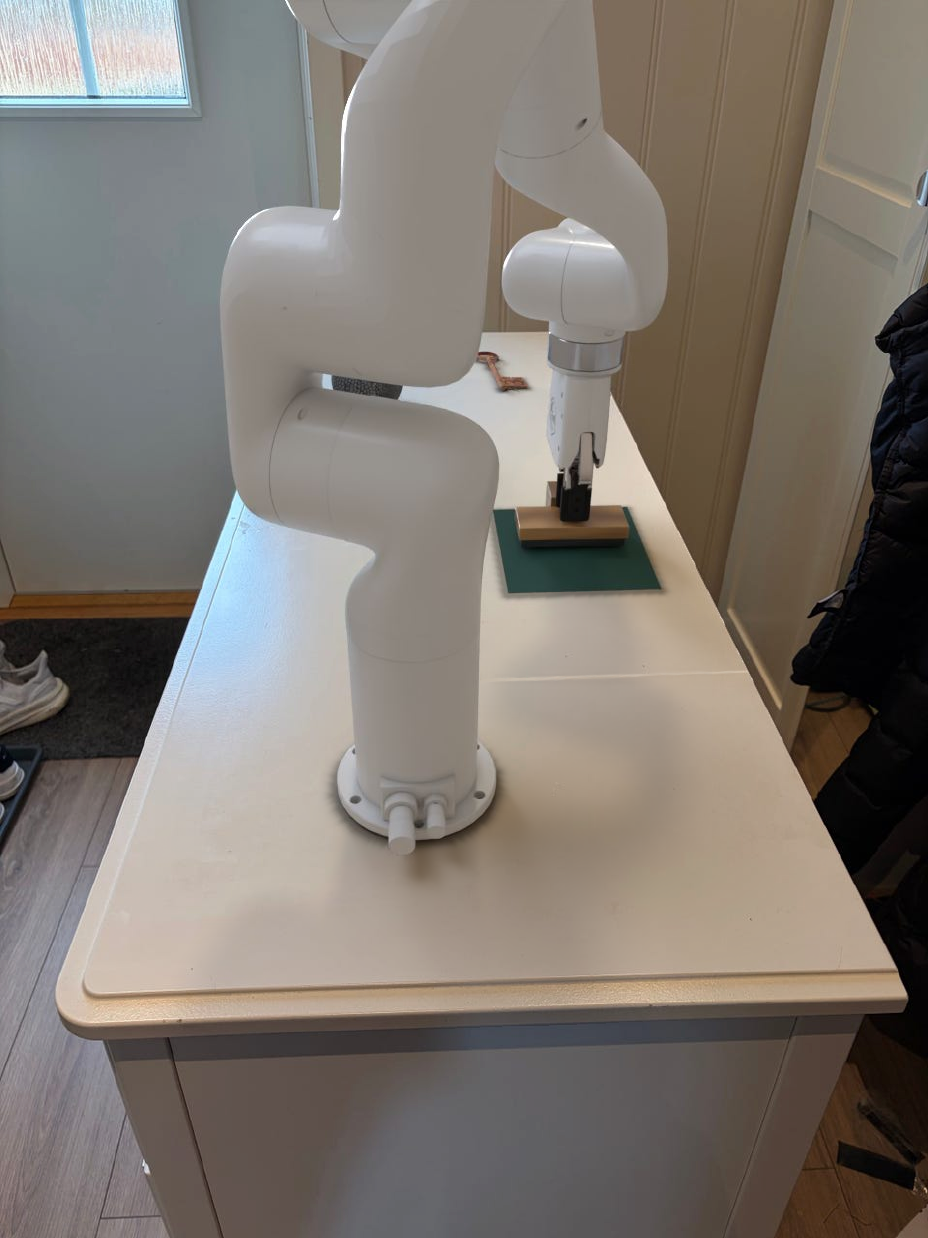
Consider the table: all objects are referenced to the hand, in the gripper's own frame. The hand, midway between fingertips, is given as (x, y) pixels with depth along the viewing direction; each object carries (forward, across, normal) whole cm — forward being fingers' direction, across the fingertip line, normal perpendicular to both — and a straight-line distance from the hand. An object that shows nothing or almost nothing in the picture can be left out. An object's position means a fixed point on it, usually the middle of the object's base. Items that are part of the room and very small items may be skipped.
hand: (571, 512), depth 109 cm
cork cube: (+3, -4, 0) cm, 6 cm away
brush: (+3, 0, 0) cm, 3 cm away
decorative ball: (+4, -37, -23) cm, 44 cm away
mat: (+4, +2, 0) cm, 4 cm away
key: (+4, -52, -3) cm, 53 cm away
